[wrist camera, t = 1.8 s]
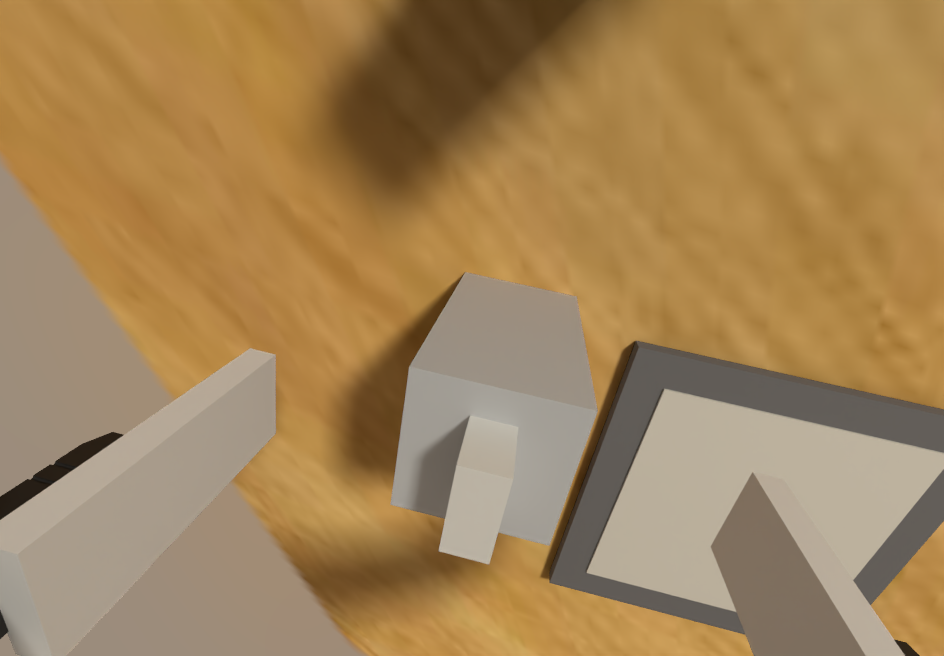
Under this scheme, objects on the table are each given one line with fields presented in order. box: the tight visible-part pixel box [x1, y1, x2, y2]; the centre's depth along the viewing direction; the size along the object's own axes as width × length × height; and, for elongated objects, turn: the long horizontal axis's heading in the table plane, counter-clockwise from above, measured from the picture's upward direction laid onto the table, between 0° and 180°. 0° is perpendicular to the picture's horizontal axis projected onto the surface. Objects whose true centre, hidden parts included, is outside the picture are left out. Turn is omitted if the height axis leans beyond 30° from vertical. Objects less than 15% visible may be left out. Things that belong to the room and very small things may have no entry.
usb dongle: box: [391, 272, 598, 564], centre depth 14 cm, size 4×4×10 cm
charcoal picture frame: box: [550, 341, 944, 635], centre depth 20 cm, size 14×14×1 cm
